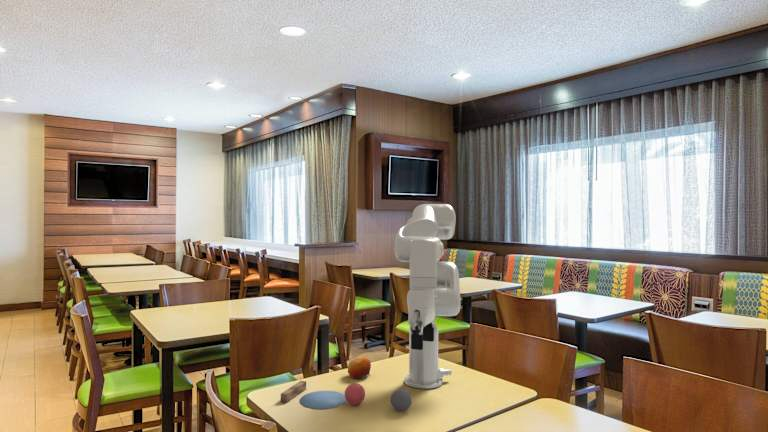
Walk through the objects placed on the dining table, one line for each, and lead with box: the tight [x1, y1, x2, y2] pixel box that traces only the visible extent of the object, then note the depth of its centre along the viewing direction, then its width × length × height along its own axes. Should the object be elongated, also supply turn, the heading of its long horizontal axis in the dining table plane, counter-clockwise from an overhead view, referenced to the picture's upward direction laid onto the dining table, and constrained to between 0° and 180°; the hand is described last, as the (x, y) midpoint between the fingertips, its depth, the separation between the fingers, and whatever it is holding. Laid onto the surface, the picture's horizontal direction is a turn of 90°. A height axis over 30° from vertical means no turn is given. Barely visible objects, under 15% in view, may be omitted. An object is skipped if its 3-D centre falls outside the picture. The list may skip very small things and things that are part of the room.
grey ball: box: [390, 388, 413, 413], centre depth 137 cm, size 6×6×6 cm
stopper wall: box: [280, 380, 307, 404], centre depth 148 cm, size 12×2×2 cm, turn 161°
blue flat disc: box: [299, 390, 348, 410], centre depth 145 cm, size 14×14×1 cm
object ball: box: [344, 382, 366, 406], centre depth 142 cm, size 6×6×6 cm
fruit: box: [347, 355, 372, 380], centre depth 166 cm, size 8×8×8 cm
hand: (422, 344), depth 135 cm, fingers open, 9 cm apart
